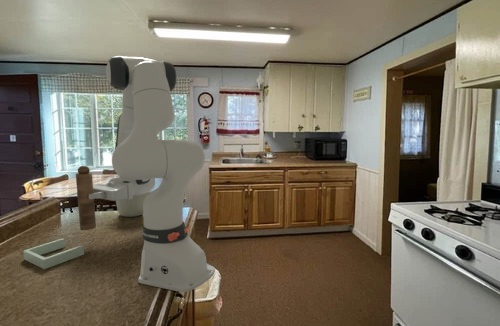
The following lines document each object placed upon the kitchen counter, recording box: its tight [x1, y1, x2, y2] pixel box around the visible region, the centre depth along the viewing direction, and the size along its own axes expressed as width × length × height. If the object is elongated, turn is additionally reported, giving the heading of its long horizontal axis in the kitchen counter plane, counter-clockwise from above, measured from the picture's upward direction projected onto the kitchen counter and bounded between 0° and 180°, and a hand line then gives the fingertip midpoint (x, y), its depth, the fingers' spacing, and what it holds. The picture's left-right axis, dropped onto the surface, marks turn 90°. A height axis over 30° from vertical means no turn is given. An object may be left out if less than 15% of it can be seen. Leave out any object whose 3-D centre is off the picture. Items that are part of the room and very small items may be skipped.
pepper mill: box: [75, 165, 97, 231], centre depth 102 cm, size 5×5×23 cm
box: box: [22, 238, 85, 270], centre depth 94 cm, size 13×12×3 cm
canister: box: [115, 191, 150, 218], centre depth 140 cm, size 18×18×21 cm
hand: (83, 195), depth 101 cm, fingers closed on pepper mill, 5 cm apart
